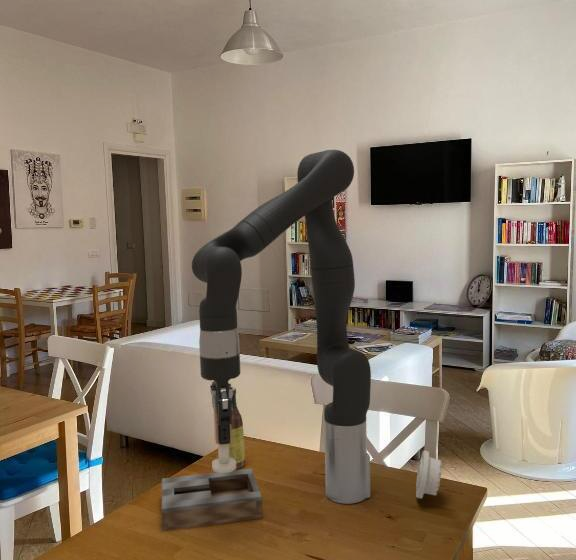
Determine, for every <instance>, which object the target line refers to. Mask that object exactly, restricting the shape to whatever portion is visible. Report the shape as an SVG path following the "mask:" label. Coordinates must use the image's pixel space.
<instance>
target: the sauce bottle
mask: <svg viewBox="0 0 576 560" xmlns="http://www.w3.org/2000/svg"><path fill="white" fill-rule="evenodd" d="M231 387H232V388H233V396H232V424H231V431H232V442H231V443H229V457H230V458H234V459H235V460H236V469H235V470H241V469H242V468H243V467H245V465H246V451H245V450H246V448H245V437H244V436H245V434H244V425H243V424H244V423H243V422H244V421H243V417H242V414H241V413H240V410H239V409H238V406H237V396H236V395H237V389H236V387H234V386H231Z"/></svg>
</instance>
